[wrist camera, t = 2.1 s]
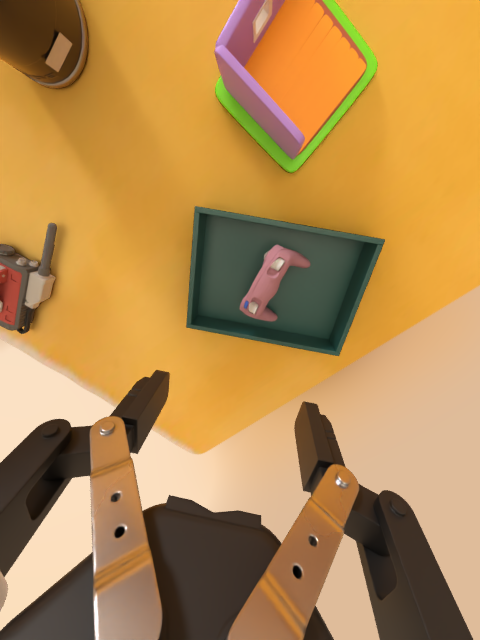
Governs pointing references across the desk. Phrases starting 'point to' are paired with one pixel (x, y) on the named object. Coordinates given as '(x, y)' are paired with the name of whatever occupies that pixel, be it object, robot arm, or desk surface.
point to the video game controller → (270, 281)
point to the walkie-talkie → (24, 284)
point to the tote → (295, 287)
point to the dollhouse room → (290, 73)
